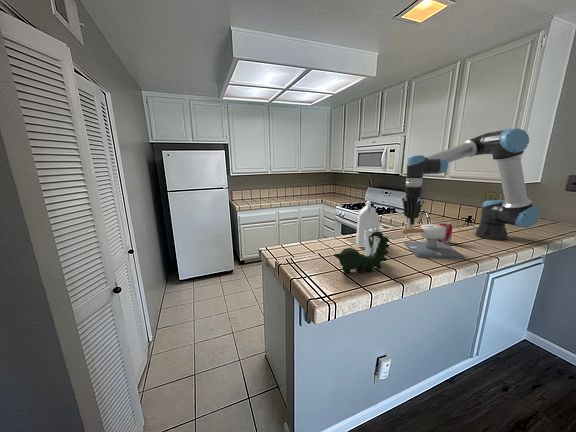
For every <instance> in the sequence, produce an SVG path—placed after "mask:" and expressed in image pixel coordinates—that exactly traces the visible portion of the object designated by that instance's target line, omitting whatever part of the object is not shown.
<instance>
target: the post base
mask: <svg viewBox="0 0 576 432" xmlns="http://www.w3.org/2000/svg"><path fill="white" fill-rule="evenodd" d="M425 238H426V237H425ZM404 244H405V245H406V248H407V249H408V250H409V251H411V252H412V253H413V255H415V257H416V258H426V259H427V258H430V259H431V258H433V259H436V258H437V259H460V260H461V259H464V258H465V255H464V254H462V253H461V252H459V251H457V250H456V249H454V248H453V247H451V246H450V245H448V244H445V243H443V242H438V241H437V239H431V238H426V240H425V241H411V240H410V241H409V240H408V241H407V240H405V241H403V245H404ZM405 245H404V246H405Z"/></svg>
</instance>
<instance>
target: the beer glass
mask: <svg viewBox="0 0 576 432" xmlns="http://www.w3.org/2000/svg"><path fill="white" fill-rule="evenodd" d="M374 232H380V229H379V230H377V229H373V228H368V229H365V232H364V245H365V248H364V255H365V256H373V255H374V253H375V252H376V249H377V246H378V241H379V242H380V238H378V237H377V236H373V237H370V236H371V234H372V233H374Z"/></svg>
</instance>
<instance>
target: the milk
mask: <svg viewBox="0 0 576 432" xmlns="http://www.w3.org/2000/svg"><path fill="white" fill-rule="evenodd" d="M371 203H372V202H371V201H369V200H367V201H366V203H365V204H366V205H365V206H363V207H362V208H361V210H359V211H358V213H357V223H356V239H355V242H356V245H357V247H358V246H365V245H364V232H365V229H368V228H373V229H377V230H379V231H380V216H379V214H378V213H377V212H376V211H377V209H376V208H375V207H374V206H372V205H371ZM379 242H380V240H379V241H378V243H379ZM377 247H378V246H377Z"/></svg>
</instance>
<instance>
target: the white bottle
mask: <svg viewBox="0 0 576 432" xmlns="http://www.w3.org/2000/svg"><path fill="white" fill-rule="evenodd" d="M445 230H446V228H445V227H444V226H440V225H438V224H431V223H429V224H428V223H427V224H421V225H420V227H417V228H416V227H413V228H407V227H402V234H403V235H404V234H405V235H406V234H407V235H408V234H420V235H419V236H421V237H423V238H431V239H443V238H445Z"/></svg>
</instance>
